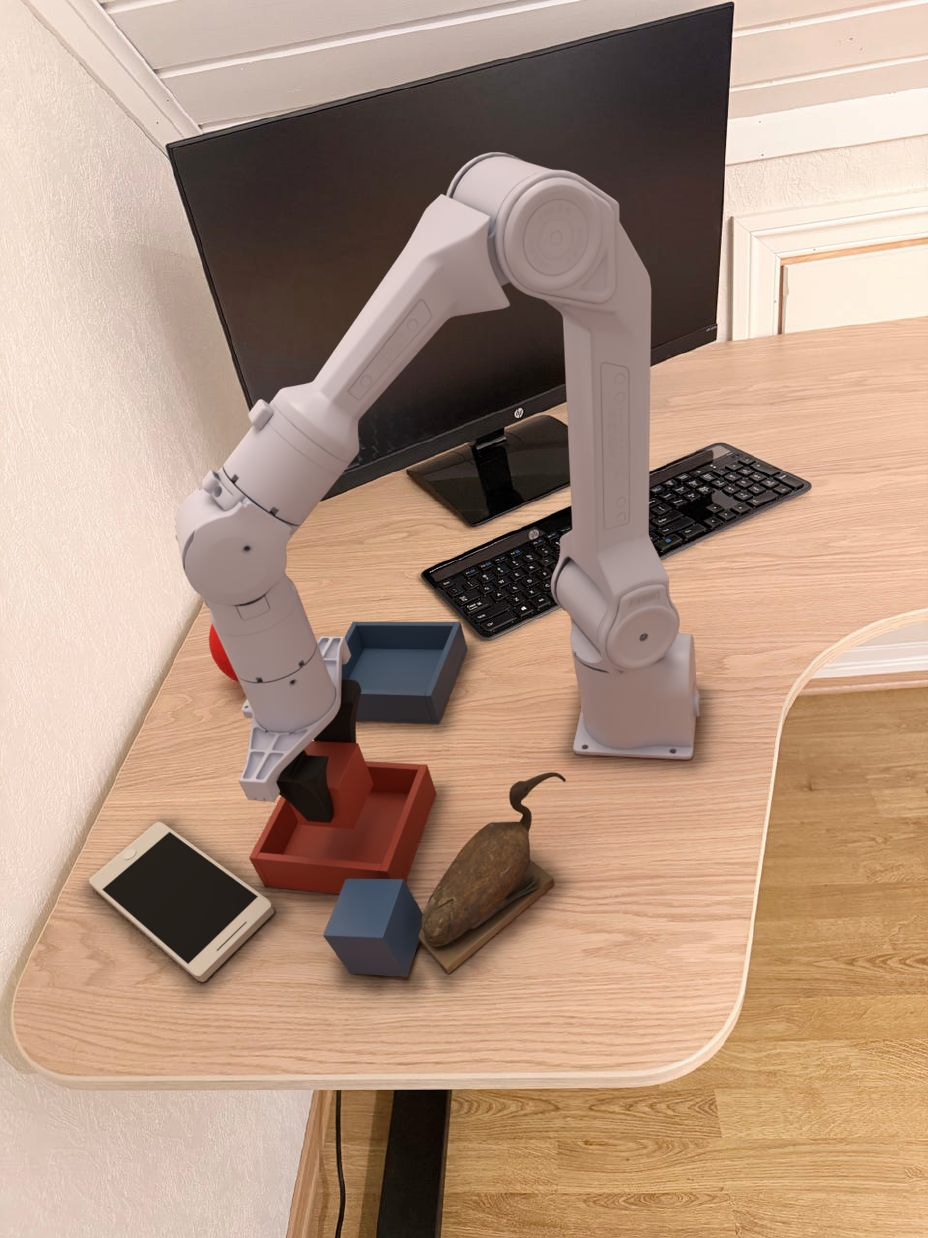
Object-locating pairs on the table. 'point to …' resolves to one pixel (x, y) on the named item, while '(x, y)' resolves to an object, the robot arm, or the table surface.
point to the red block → (342, 782)
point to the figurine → (485, 885)
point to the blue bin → (404, 669)
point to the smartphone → (182, 899)
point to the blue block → (375, 927)
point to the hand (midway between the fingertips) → (332, 791)
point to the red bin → (350, 836)
